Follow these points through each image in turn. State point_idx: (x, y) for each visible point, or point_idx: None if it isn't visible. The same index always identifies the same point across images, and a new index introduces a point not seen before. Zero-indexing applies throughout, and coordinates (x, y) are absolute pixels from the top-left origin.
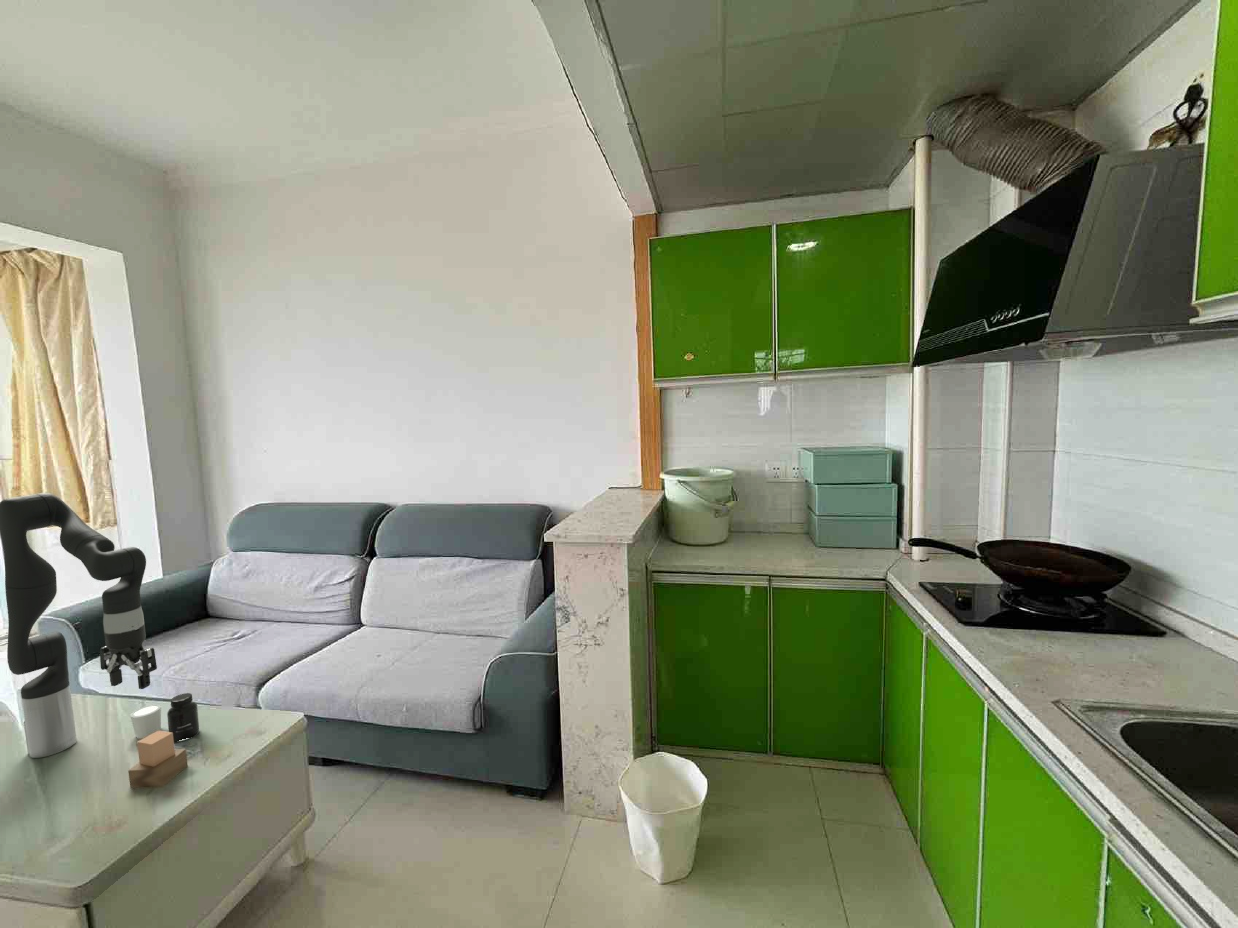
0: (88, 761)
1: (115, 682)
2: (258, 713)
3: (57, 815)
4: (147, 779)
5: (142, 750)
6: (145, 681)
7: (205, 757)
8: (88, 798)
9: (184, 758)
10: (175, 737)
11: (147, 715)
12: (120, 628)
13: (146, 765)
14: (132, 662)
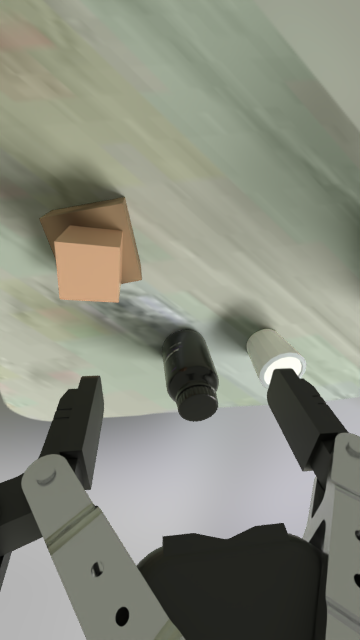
0: (302, 262)
1: (280, 387)
2: (109, 412)
3: (199, 84)
4: (81, 207)
5: (102, 238)
6: (54, 421)
7: (68, 303)
8: (186, 153)
9: None
10: (181, 335)
11: (266, 362)
12: None
13: (97, 227)
14: (79, 618)
